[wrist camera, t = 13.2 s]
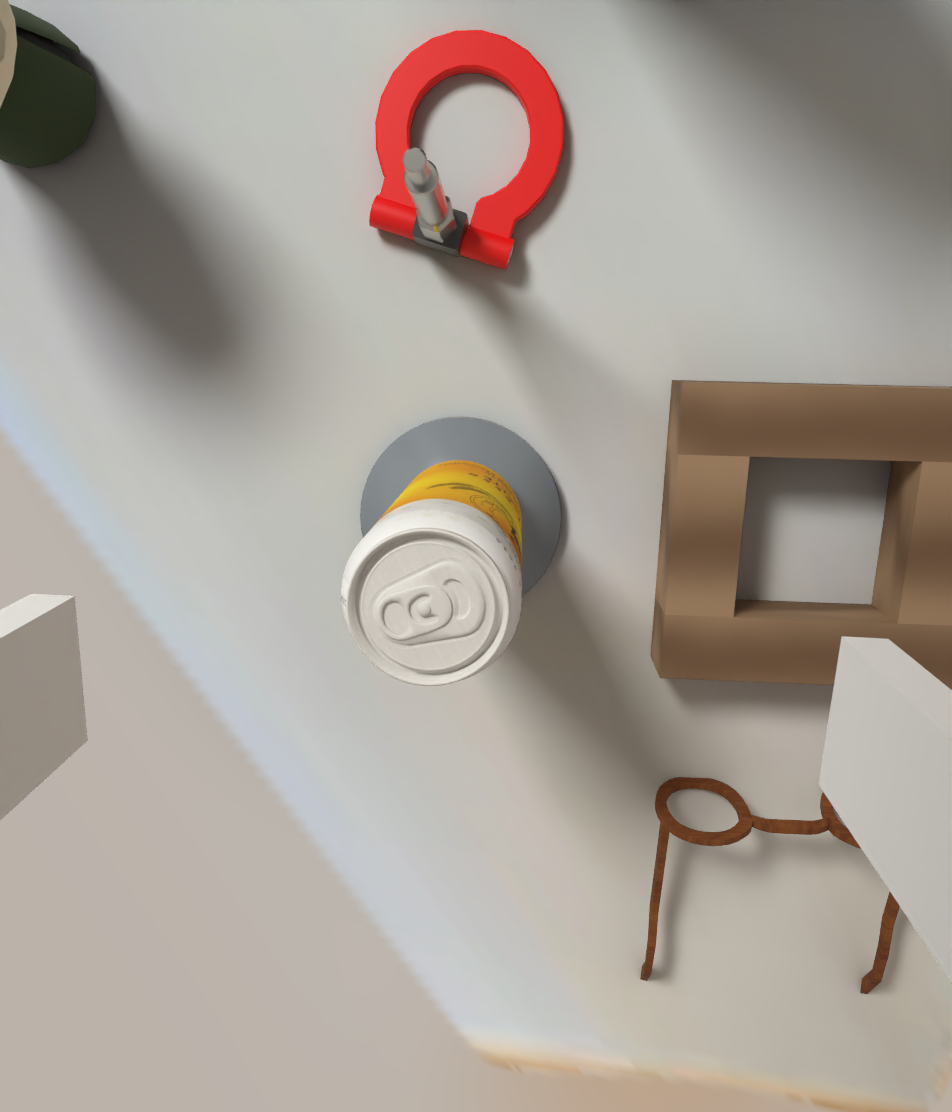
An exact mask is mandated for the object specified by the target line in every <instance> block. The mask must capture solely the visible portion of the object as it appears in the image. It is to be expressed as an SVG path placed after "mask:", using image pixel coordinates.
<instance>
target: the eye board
mask: <svg viewBox="0 0 952 1112" xmlns="http://www.w3.org/2000/svg"><path fill="white" fill-rule="evenodd" d="M750 457H781V458H816V459H851V460H886V461H892V465H891V472H890V479H889V486H888V493H887V500H886V507H885V514H884V521H883V528H882V535H881V542H880V549H879V556H878V563H877V570H876V577H875V584H874V591H873V598H872V605H868V604H841V603H814V602H787V601H759V600H735V597H736V587H737V578H738V568H739V558H740V548H741V538H742V528H743V519H744V509H745V499H746V489H747V479H748V469H749V460H750ZM842 636H845V637H864V638H883V639H889V640H890V641H892V642H893V643H894V644H895V645H897V646H898V647H899V648H900V649H902V650H903V651H904V652H905V653H906V654H908V655H909V656H910V657H911V658H913V659H914V660H915V661H916V662H918V663H919V664H920V665H921V666H922V667H924V668H925V669H926V670H927V671H929V672H930V673H931V674H932V675H934V676H935V677H936V678H937V679H939V680H940V681H941V682H942V683H943V684H945V685H946V686H947V687H948V688H950V689H951V690H952V387H929V386H888V385H847V384H806V383H766V382H725V381H684V380H672V387H671V400H670V413H669V426H668V439H667V452H666V465H665V478H664V491H663V503H662V516H661V529H660V542H659V555H658V568H657V581H656V594H655V607H654V620H653V632H652V645H651V658H652V660H653V662H654V665H655V667H656V669H657V672H658V674H659V677H660V678H677V679H701V680H725V681H750V682H774V683H798V684H822V685H834V682H835V675H836V669H837V662H838V656H839V650H840V643H841V637H842Z"/></svg>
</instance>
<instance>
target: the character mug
mask: <svg viewBox="0 0 952 1112" xmlns="http://www.w3.org/2000/svg"><path fill="white" fill-rule="evenodd" d="M54 41H56V42H58V43H60V44H62V45H64V46H66V47H68V48H70V49H72V50H74V51H76V52H78V53H80V51H79V48H78V46H77V45H76V44H75V43H73V42H72V41H71V40H70V39H69V38H68V37H66V36H65V35H64V34H63V33H62V32H61V31H59V30H58V29H57V28H56V27H55V26H53V25H52V24H50V23H48V22H46V21H44V20H42V19H40V18H38V17H36V16H35V15H33V14H31V13H29V12H27V11H25V10H22V9H20V8H17V7H15V6H13V5H10V4H9V2H8V0H0V159H1V160H3V161H7V162H10V163H14V164H17V165H21V166H24V167H28V168H34V167H38V166H43V165H48V164H52V163H57V162H60V161H61V160H62V159H64V158H65V157H66V156H68V155H69V154H70V153H72V152H73V151H74V150H76V149H77V148H79V147H80V146H81V145H83V144H84V142H85V139H86V137H87V134H88V132H89V129H90V127H91V124H92V122H93V119H94V117H95V83H94V80H93V78H92V76H91V74H90V73H88V72H86V71H84V70H83V69H81V68H79V67H77V66H75V65H74V64H72V63H71V62H70V60H69V58H68V57H67V56H66V55H65V54H64V52H63V51H62V50H61V49H60V48H59V46H58V45H57V44H56V43H55V42H54Z"/></svg>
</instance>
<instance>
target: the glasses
mask: <svg viewBox="0 0 952 1112" xmlns="http://www.w3.org/2000/svg"><path fill="white" fill-rule="evenodd" d="M688 788H697V789H705V790H709V791H712V792H715V793H718V794H720V795H722V796H723V797H725V798H726V799H727V800H728V801H729V802H730V803H731V804H732V805H733V807H734V808H735V810H736V812H737V814H738V818H739V822H738V823H737V824H736V825H735V826H734V827H733V828H731V829H729V830H726V831H722V832H702V831H697V830H693V829H690V828H688V827H686V826H684V825H682V824H680V823H679V822H678V821H676V820H675V819H674V818H673V816H672V815H671V814H670V812H669V810H668V807H667V803H666V801H667V799H668V797H669V796H670V795H671V794H672V793H674V792H676V791H678V790H681V789H688ZM820 808H821V814H822V817H823V819H820V820H815V821H801V820H777V819H765V818H761V817H757V816H753V815H751V813H750V811H749V809H748V807H747V805H746V803H745V802H744V800H743V799H742V797H741V796H740V795H739V794H738V793H737V791H735V790H734V789H733V788H731V787H730V786H729V785H726V784H724V783H722V782H720V781H717V780H714V779H709V778H684V777H678V778H674V779H671V780H669V781H667V782H665V783H663V784H662V785H661V786H660V787H659V789H658V791H657V794H656V800H655V809H656V813H657V816H658V818H659V820H660V830H659V838H658V846H657V854H656V861H655V869H654V877H653V885H652V893H651V900H650V912H649V931H648V942H647V951H646V961H645V963H644V964H643V966H642V972H641V978H640V979H642V980H646V981H647V979H648V978H649V976H650V974H651V971H652V965H653V959H654V953H655V947H656V935H657V922H658V912H659V904H660V897H661V889H662V882H663V874H664V867H665V860H666V852H667V845H668V837H669V832H671V833H672V834H673V835H675V836H677V837H678V838H680V839H682V840H685V841H688V842H691V843H695V844H699V845H707V846H722V845H729V844H732V843H735V842H738V841H739V840H741V839H743V838H744V837H746V836H747V835H748V834H749V833H750V832H751V828H752V827H754V828H756V829H759V830H762V831H765V832H770V833H783V834H806V835H813V834H819V833H822V832H825V831H827V830H829V831H830V832H831V833H832V834H833V835H834V836H835V837H837V838H838V839H840V840H842V841H844V842H846V843H848V844H851V845H853V846H855V847H857V848H860V849H861V847H860V846H859V844H858V843H857V841H856V840H855V838H854V837H853V835H852V834H851V832H850V831H849V829H848V828H847V827H845V826H844V825H843V824H842V823H841V822H840V821H839V820H838V819H837V817H836V815H835V813H834V811H833V807H832V804H831V802H830V801H829V800H828V798H827V797H826V795H825V794H824V792H823V794H822V796H821V803H820ZM899 907H900V906H899V904H898V903H897V901H896V900H895V898H894V897H893V895H892V894H891V892H889V896H888V899H887V903H886V906H885V909H884V913H883V916H882V923H881V929H880V936H879V943H878V948H877V952H876V956H875V960H874V965H873V969H872V970H871V971H870V972H869V973H868V974H867V975H866V976H865V977H864V978H863V979H862V984H861V993H864V994H868V993H869V992H870V991H871V990H872V989H873V988H875V987H876V986H877V985H878V984H879V983H880V982H881V980H882V977H883V973H884V970H885V966H886V963H887V959H888V956H889V950H890V944H891V938H892V933H893V927H894V923H895V920H896V917H897V913H898V910H899Z"/></svg>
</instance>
